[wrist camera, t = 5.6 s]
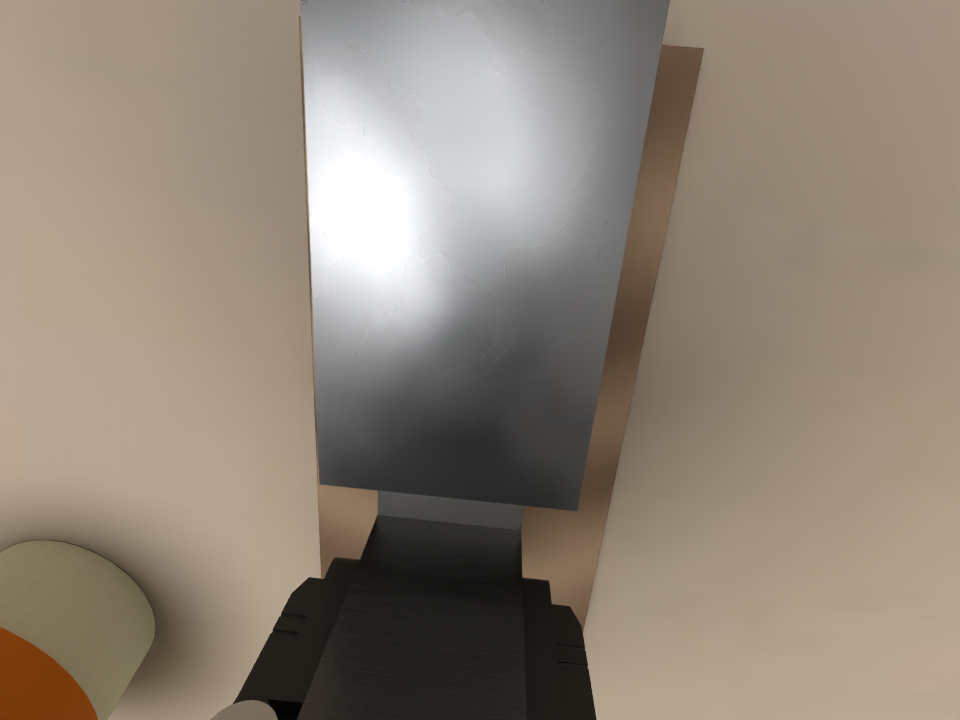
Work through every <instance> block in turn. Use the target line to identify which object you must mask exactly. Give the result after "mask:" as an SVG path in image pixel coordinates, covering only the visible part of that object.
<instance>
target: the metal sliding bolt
mask: <svg viewBox="0 0 960 720" xmlns="http://www.w3.org/2000/svg"><path fill="white" fill-rule="evenodd" d="M523 512H524V506H522V505H512V504H502V503H493V502H483V501H473V500H464V499H454V498H445V497H435V496H425V495H416V494H406V493H396V492H387V491H378V509H377V517H376V520H375V522H374V525H373V527H372V530H371V533H370V535H369V538H368V540H367V543H366V545H365V548H364V550H363V553H362V555H361V558H360V560H359V563H358V566H357V568H356V571H355V573H354V576H353V578H352V581H351V583H350V586H349V588H348V591H347V594H346V596H345V599H344V601H343V604H342V606H341V609H340V611H339V614H338V616H337V619H336V621H335V624H334V627H333V629H332V632H331V634H330V637H329V639H328V642H327V644H326V647H325V649H324V652H323V654H322V657H321V660H320V662H319V665H318V667H317V670H316V672H315V675H314V677H313V680H312V682H311V685H310V688H309V690H308V693H307V695H306V698H305V700H304V703H303V705H302V708H301V710H300V713H299V715H298V718H297V720H527V711H526V678H525V645H524V612H523V578H522V545H521V526H522V519H523Z"/></svg>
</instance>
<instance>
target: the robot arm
mask: <svg viewBox="0 0 960 720" xmlns="http://www.w3.org/2000/svg"><path fill="white" fill-rule="evenodd" d="M358 563H359V559H349V558H340V557H335V558H334V559H333V560H332V562H331V564H330V567H329V569H328V571H327V573H326V575H325V577H324V579H319V578H310V577H309V578H308V579H307V580H306V581H305V582H303V583H302V584H301V585H300V586H299V587H298V588H297V589H296V590H295V591H294V592H293V593H292V594H291V596H290V598H289V599H288V601H287V603H286V605H285V607H284V609H283V611H282V613H281V617H279V619H278V620H277V622H276V624H275V626H274V628H273V632H272V633H271V634H270V636H269V638H268V640H267V642H266V643H265V645H264V647H263V649H262V651H261V653H260V655H259V657H258V659H257V661H256V663H255V664H254V666H253V668H252V670H251V672H250V674H249V676H248V678H247V680H246V682H245V684H244V685H243V687H242V689H241V691H240V693H239V695H238V697H237V698H236V700H235V701H234V703H233V704H232V705H230V706H228V707H226V708H225V709H223V710H222V711H220V712H219V713H217V714H216V715H215V716H214V717H213V718H212V719H211V720H297V718H298V715H299V713H300V710H301V708H302V705H303V703H304V700H305V698H306V695H307V693H308V690H309V688H310V685H311V682H312V680H313V677H314V675H315V672H316V670H317V667H318V665H319V662H320V660H321V657H322V654H323V652H324V649H325V647H326V644H327V642H328V639H329V637H330V634H331V632H332V629H333V627H334V624H335V621H336V619H337V616H338V614H339V611H340V609H341V606H342V604H343V601H344V599H345V596H346V594H347V591H348V588H349V586H350V583H351V581H352V578H353V576H354V573H355V571H356V568H357V566H358ZM522 578H523V577H522ZM523 612H524V645H525V678H526V711H527V720H596V714H595V708H594V701H593V695H592V689H591V682H590V676H589V670H588V663H587V657H586V651H585V645H584V638H583V632H582V626H581V624H580V622H579V621H578V619H577V617H576V616H575V614H574V612H573V610H572V609H571V607H570V606H564V605H555V604H552V601H551V591H550V583H549V580H541V579H532V578H523Z"/></svg>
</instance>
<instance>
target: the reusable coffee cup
mask: <svg viewBox="0 0 960 720" xmlns="http://www.w3.org/2000/svg"><path fill="white" fill-rule="evenodd" d="M155 627H156V624H155V619H154V614H153V611H152V608H151V606H150V604H149V602H148V599H147V598H146V596H145V595H144V593H143V592H142V591H141V589H140V588H139V586H138V585H137V584H136V583H135V582H134V581H133V580H132V579H131V578H130V577H129V576H128V575H127V574H126V573H125V572H123V571H122V570H121V569H120V568H118V567H117V566H116V565H115V564H113V563H112V562H110V561H108V560H107V559H105V558H103V557H101V556H100V555H98V554H96V553H94V552H91V551H89V550H86V549H84V548H82V547H79V546H75V545H71V544H68V543H64V542H57V541H48V540H38V541H27V542H23V543H19V544H15V545H13V546H11V547H9V548H7V549H5V550H3V551H2V552H0V720H107V719H108V718H109V716H110V714H111V713H112V711H113V709H114V708H115V706H116V704H117V703H118V701H119V699H120V698H121V696H122V694H123V693H124V691H125V689H126V688H127V686H128V684H129V683H130V681H131V679H132V678H133V676H134V674H135V673H136V671H137V669H138V668H139V666H140V664H141V663H142V661H143V659H144V658H145V656H146V654H147V653H148V651H149V649H150V648H151V645H152V643H153V640H154V637H155Z"/></svg>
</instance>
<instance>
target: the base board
mask: <svg viewBox="0 0 960 720" xmlns="http://www.w3.org/2000/svg"><path fill="white" fill-rule="evenodd" d="M299 30H300V56H301V81H302V106H303V131H304V156H305V181H306V206H307V232H308V257H309V282H310V307H311V332H312V357H313V383H314V408H315V433H316V458H317V483H318V508H319V533H320V559H321V579H324V577H325V575H326V573H327V571H328V569H329V567H330V564H331V562H332V560H333V559H334V558H335V557H340V558H349V559H359V560H360V558H361V555H362V553H363V550H364V548H365V545H366V543H367V540H368V538H369V535H370V533H371V530H372V527H373V525H374V522H375V520H376V517H377V509H378V491H377V490H367V489H358V488H348V487H338V486H329V485H319V463H318V437H317V411H316V384H315V358H314V332H313V306H312V280H311V254H310V228H309V202H308V175H307V149H306V123H305V97H304V71H303V45H302V19H301V16H299ZM703 50H704V48H693V47H680V46H667V45H662V46H661V52H660V57H659V63H658V68H657V74H656V79H655V85H654V91H653V96H652V102H651V107H650V113H649V118H648V124H647V129H646V135H645V140H644V146H643V151H642V157H641V162H640V168H639V173H638V179H637V184H636V190H635V195H634V201H633V207H632V212H631V218H630V223H629V229H628V234H627V240H626V245H625V251H624V256H623V262H622V267H621V273H620V278H619V284H618V289H617V295H616V300H615V306H614V311H613V317H612V322H611V328H610V334H609V339H608V345H607V350H606V356H605V361H604V367H603V372H602V378H601V383H600V389H599V394H598V400H597V405H596V411H595V416H594V422H593V427H592V433H591V438H590V444H589V450H588V455H587V461H586V466H585V472H584V477H583V483H582V488H581V494H580V499H579V505H578V510H577V511H570V510H560V509H551V508H541V507H531V506H524V512H523V519H522V526H521V545H522V577H523V578H532V579H541V580H549V583H550V591H551V601H552V604H555V605H564V606H570V607H571V609H572V610H573V612H574V614H575V616H576V617H577V619H578V621H579V622H580V624H581V626H582V632H583V629H584V625H585V620H586V615H587V610H588V605H589V600H590V596H591V591H592V586H593V581H594V576H595V572H596V567H597V562H598V557H599V552H600V547H601V543H602V538H603V533H604V528H605V523H606V518H607V514H608V509H609V504H610V499H611V494H612V489H613V485H614V480H615V475H616V470H617V465H618V461H619V456H620V451H621V446H622V441H623V436H624V432H625V427H626V422H627V417H628V412H629V407H630V403H631V398H632V393H633V388H634V383H635V378H636V374H637V369H638V364H639V359H640V354H641V350H642V345H643V340H644V335H645V330H646V325H647V321H648V316H649V311H650V306H651V301H652V296H653V292H654V287H655V282H656V277H657V272H658V267H659V263H660V258H661V253H662V248H663V243H664V239H665V234H666V229H667V224H668V219H669V214H670V210H671V205H672V200H673V195H674V190H675V185H676V181H677V176H678V171H679V166H680V161H681V157H682V152H683V147H684V142H685V137H686V132H687V128H688V123H689V118H690V113H691V108H692V103H693V99H694V94H695V89H696V84H697V79H698V74H699V70H700V65H701V60H702V55H703Z"/></svg>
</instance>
